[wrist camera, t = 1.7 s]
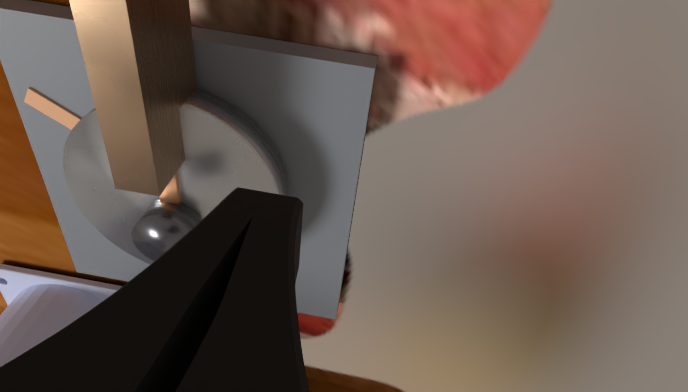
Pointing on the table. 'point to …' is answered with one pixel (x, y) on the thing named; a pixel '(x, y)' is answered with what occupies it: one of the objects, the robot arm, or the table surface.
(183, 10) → the cam
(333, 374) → the table surface
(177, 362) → the robot arm
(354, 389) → the table surface
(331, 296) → the stand plate
